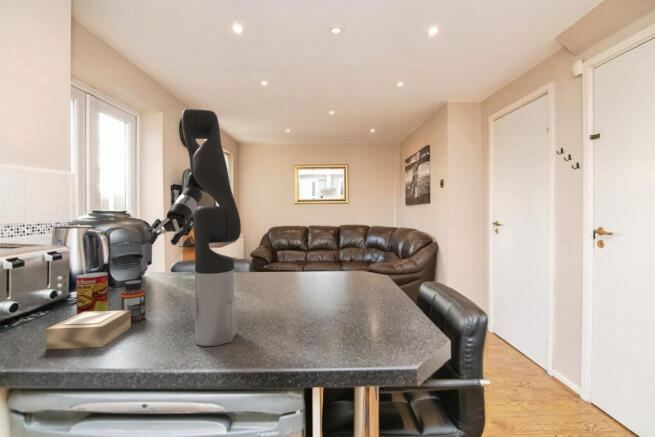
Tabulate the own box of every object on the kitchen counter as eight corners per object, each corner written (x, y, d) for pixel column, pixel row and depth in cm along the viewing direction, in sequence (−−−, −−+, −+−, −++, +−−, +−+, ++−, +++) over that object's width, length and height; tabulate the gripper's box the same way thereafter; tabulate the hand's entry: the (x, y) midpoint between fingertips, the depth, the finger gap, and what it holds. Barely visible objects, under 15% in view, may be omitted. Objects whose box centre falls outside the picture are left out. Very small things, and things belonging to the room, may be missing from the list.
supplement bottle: (125, 317, 89) (124, 280, 89) (147, 315, 91) (147, 278, 91) (118, 324, 83) (118, 284, 83) (142, 321, 85) (142, 283, 85)
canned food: (70, 314, 91) (69, 276, 91) (95, 307, 99) (95, 271, 99) (89, 316, 89) (89, 277, 89) (114, 308, 97) (113, 272, 97)
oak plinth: (130, 327, 81) (130, 309, 81) (102, 346, 69) (102, 325, 69) (83, 329, 80) (83, 311, 79) (46, 349, 68) (46, 327, 68)
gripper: (160, 202, 108) (136, 235, 97) (196, 202, 106) (175, 236, 95) (170, 216, 113) (148, 249, 102) (204, 216, 111) (185, 250, 100)
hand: (161, 243), depth 98 cm, fingers open, 8 cm apart
